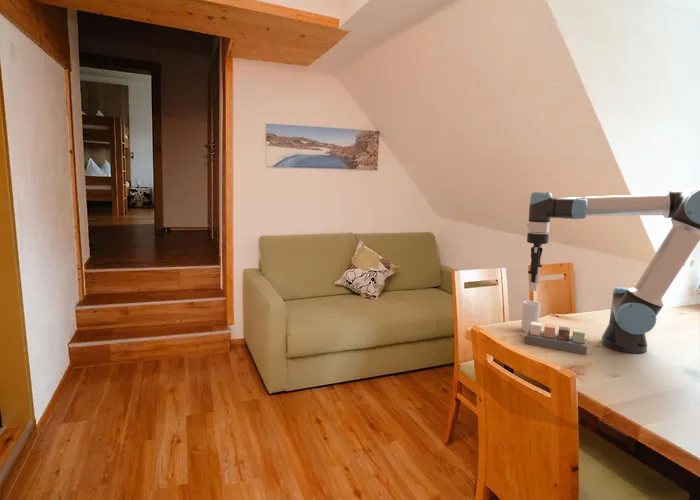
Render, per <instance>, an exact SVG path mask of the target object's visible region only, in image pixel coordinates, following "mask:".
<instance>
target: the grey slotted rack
mask: <svg viewBox="0 0 700 500" xmlns="http://www.w3.org/2000/svg"><path fill="white" fill-rule="evenodd" d="M572 336H573V335H569V341H567V340H561V339H558V333H555V336H554V338H549V337H544V330H543V331H542V330H541V334H540V336H538V335H532V334H530V329H528V331H527V332H526V335H525V344H529V345H534V346H540V347H546V348H550V349H555V350H562V351H568V352H573V353H577V354H583V355H587V349H588V343H587V338H585V337H584V343H578V342H572Z"/></svg>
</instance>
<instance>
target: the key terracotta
mask: <svg viewBox="0 0 700 500" xmlns="http://www.w3.org/2000/svg"><path fill="white" fill-rule="evenodd" d="M543 329H544V330H543V331H544V337H549V338H554V336H555V334H556V325H554V324H548V323H545V324H544V328H543Z"/></svg>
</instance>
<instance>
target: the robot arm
mask: <svg viewBox="0 0 700 500" xmlns="http://www.w3.org/2000/svg"><path fill="white" fill-rule="evenodd" d="M528 209H529V210H528V223H526V227H527V231H528V232H527V236H526V242H527V243H528V244H533V246H531V247H530V269H529V270H528V271H527V274H529V279H528V291H532V292H533V291H534V292H537V288H538V286H537V285H538V284H539V283H540V273H541V272H540V270H541V268H542V267H543V266H542V264H541V257H542V255H543V254H542V253H543V247H542V245H547V244H548V243H549V236H550V235H549V234H548V233H550V225H551V218H552V219H565V220H568V219H569V220H570V219H571V220H584V219H586V218H587V217H603V216H604V217H607V216H608V217H611V216H613V217H614V216H615V217H616V216H617V217H618V216H619V217H620V216H622V217H623V216H627V217H628V216H662V217H664V218H666V219H669V218H671V219H670V221H671V223H672V226H671V228H670V230H669V231H668V233H667V235H666V237H665V238H664V240H663V241H662V243H661V245H660V246H659V247H658V250H656V253H655V254H654V256H653V257H652V258H651V261H650V262H649V264H648V265H647V267H646V269H645V270H644V272H643V273H642V275H641V276H640V278H639V279H638V281H637V283H636V284H635V286H633V287H618V286H617V287H615V288H614V289H613V292H612V300H611V308H610V314H609V315H610V316H609V322H608V324H607V326H606V329H605V330H604V332H603V334H602V336H601V344H602V345H603V346H606V347H608V348H610V349H613V350H616V351H620V352H624V353H631V354H643V353H646V352H647V351H648V342H647V337H646V333H648V332H651V330H653V329H654V327H655V326H656V323H657V316H658V314H659V313H660V311H661V310H662V308H663V306H664V303H663V299H662V298H663V297H664V295H665V294H666V293H667V291H668V289H669V288H670V286H671V285H672V283H673V282H674V280H676V279H675V278H676V277H677V275H678V274H679V272H680V271H681V269H682V268H683V267H684V265H685V263H686V262H687V261H688V258H690V256H691V254H692V253H693V251H694V249H695V248H696V247H697V245H698V243H699V242H700V187H692V188H687V189H679V190H670V191H669V190H668V191H665V192H664V193H663V194H662V193H660V194H658V193H657V194H633V195H632V194H631V195H627V194H626V195H605V196H604V195H602V196H598V195H597V196H566V197H560V198H558V197H553V194H552V193H551V192H544V191H543V192H542V191H541V192H537V191H535V192H532V193H531V194H530V200H529V208H528Z"/></svg>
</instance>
